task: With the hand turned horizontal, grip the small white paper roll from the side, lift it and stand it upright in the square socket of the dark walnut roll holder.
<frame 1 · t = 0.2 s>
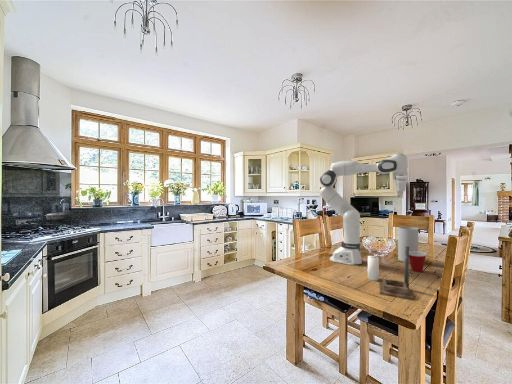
hand: (400, 197, 156), 48 cm above the table, tool pointing down, fingers open, 8 cm apart
roll holder: (394, 291, 121), on the table
plastic cup: (416, 271, 151), on the table
paper roll: (373, 278, 138), on the table
cylinder vase: (407, 261, 172), on the table
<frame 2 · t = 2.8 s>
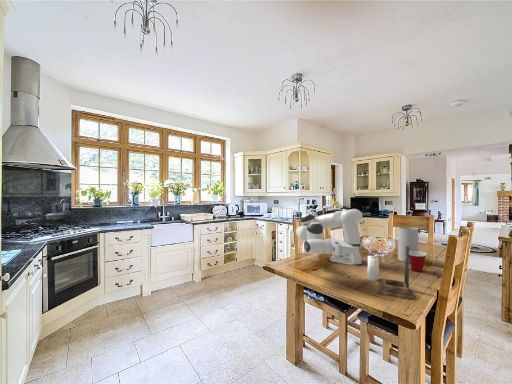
hand: (355, 246, 137), 20 cm above the table, tool horizontal, fingers open, 8 cm apart
nothing on the table moved.
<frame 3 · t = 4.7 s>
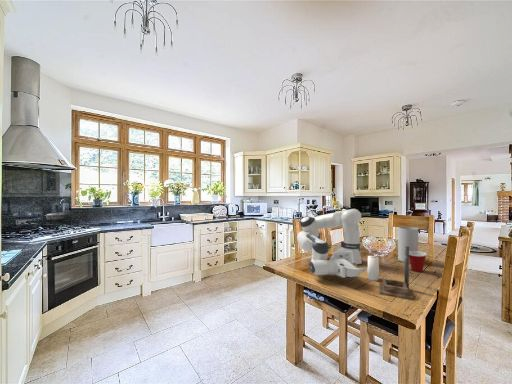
hand: (359, 266, 137), 7 cm above the table, tool horizontal, fingers open, 8 cm apart
nothing on the table moved.
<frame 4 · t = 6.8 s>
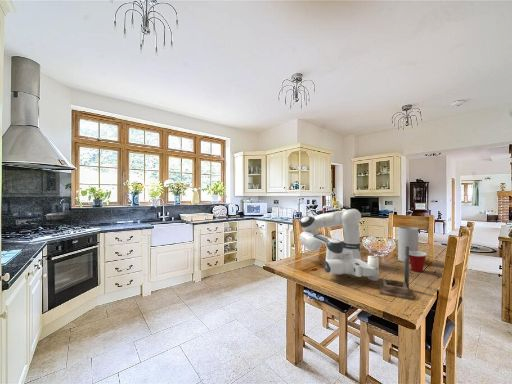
hand: (374, 266, 138), 8 cm above the table, tool horizontal, fingers closed on paper roll, 6 cm apart
paper roll: (373, 278, 138), on the table, touching gripper
everything else where it was.
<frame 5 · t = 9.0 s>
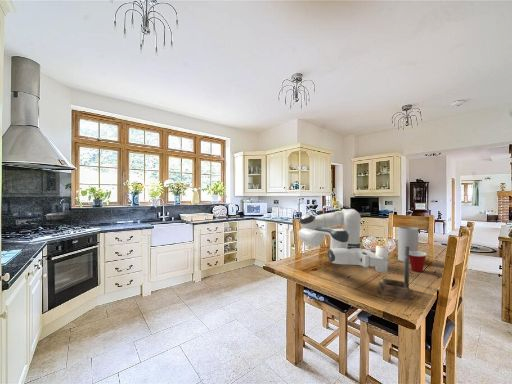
hand: (383, 257, 127), 16 cm above the table, tool horizontal, fingers closed on paper roll, 6 cm apart
paper roll: (381, 270, 127), point 9 cm above the table, touching gripper
everything else where it was.
when the fingers open (10 cm above the table, at t = 11.6 s): paper roll drops 1 cm, resting on roll holder.
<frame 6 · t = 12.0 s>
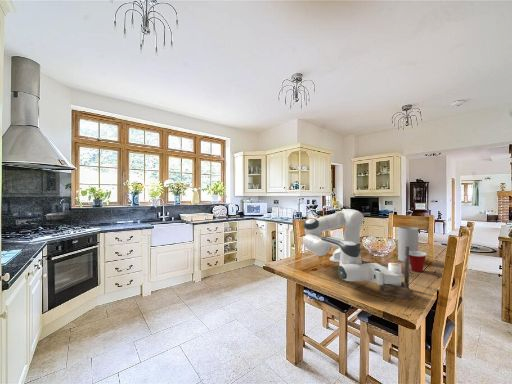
hand: (396, 272, 121), 10 cm above the table, tool horizontal, fingers open, 8 cm apart
paper roll: (394, 289, 121), point 1 cm above the table, touching roll holder
everything else where it was.
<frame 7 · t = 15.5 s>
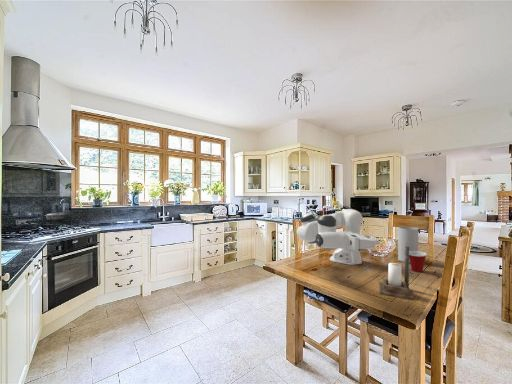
hand: (373, 239, 120), 27 cm above the table, tool horizontal, fingers open, 8 cm apart
nothing on the table moved.
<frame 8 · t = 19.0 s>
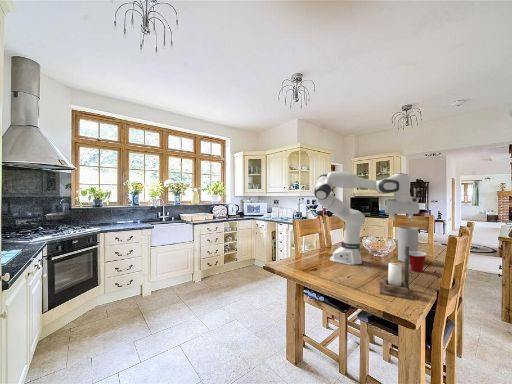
hand: (401, 220, 144), 34 cm above the table, tool pointing down, fingers open, 8 cm apart
nothing on the table moved.
at the end: paper roll 0.1 cm off-centre on the roll holder, point 1.3 cm above the roll holder's base; paper roll tilted 1°; the gripper is holding nothing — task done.
